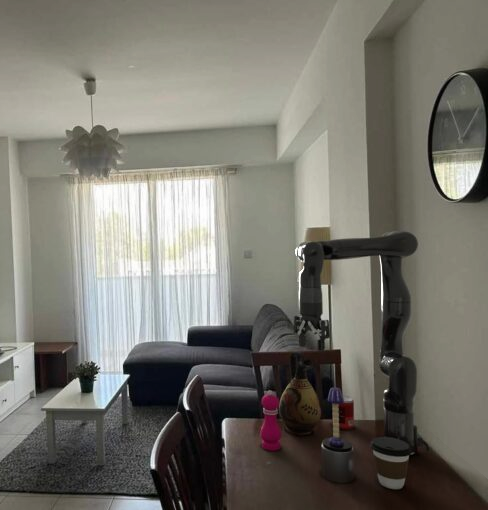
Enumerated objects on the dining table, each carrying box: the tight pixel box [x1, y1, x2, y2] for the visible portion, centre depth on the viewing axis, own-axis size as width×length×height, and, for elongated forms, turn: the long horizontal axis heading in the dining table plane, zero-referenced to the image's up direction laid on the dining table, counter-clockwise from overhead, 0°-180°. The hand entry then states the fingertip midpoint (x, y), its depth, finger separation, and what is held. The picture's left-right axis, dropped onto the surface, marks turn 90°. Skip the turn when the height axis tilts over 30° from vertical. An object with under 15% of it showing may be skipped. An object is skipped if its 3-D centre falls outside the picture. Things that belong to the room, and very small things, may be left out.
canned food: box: [338, 395, 355, 430], centre depth 182 cm, size 8×8×11 cm
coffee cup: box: [369, 436, 412, 490], centre depth 136 cm, size 11×11×12 cm
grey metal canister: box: [321, 437, 355, 484], centre depth 142 cm, size 9×9×10 cm
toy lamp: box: [327, 387, 344, 446], centre depth 142 cm, size 5×5×17 cm
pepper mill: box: [259, 389, 282, 451], centre depth 164 cm, size 7×7×20 cm
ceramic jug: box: [278, 350, 322, 436], centre depth 179 cm, size 17×15×30 cm
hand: (311, 348), depth 156 cm, fingers open, 8 cm apart
